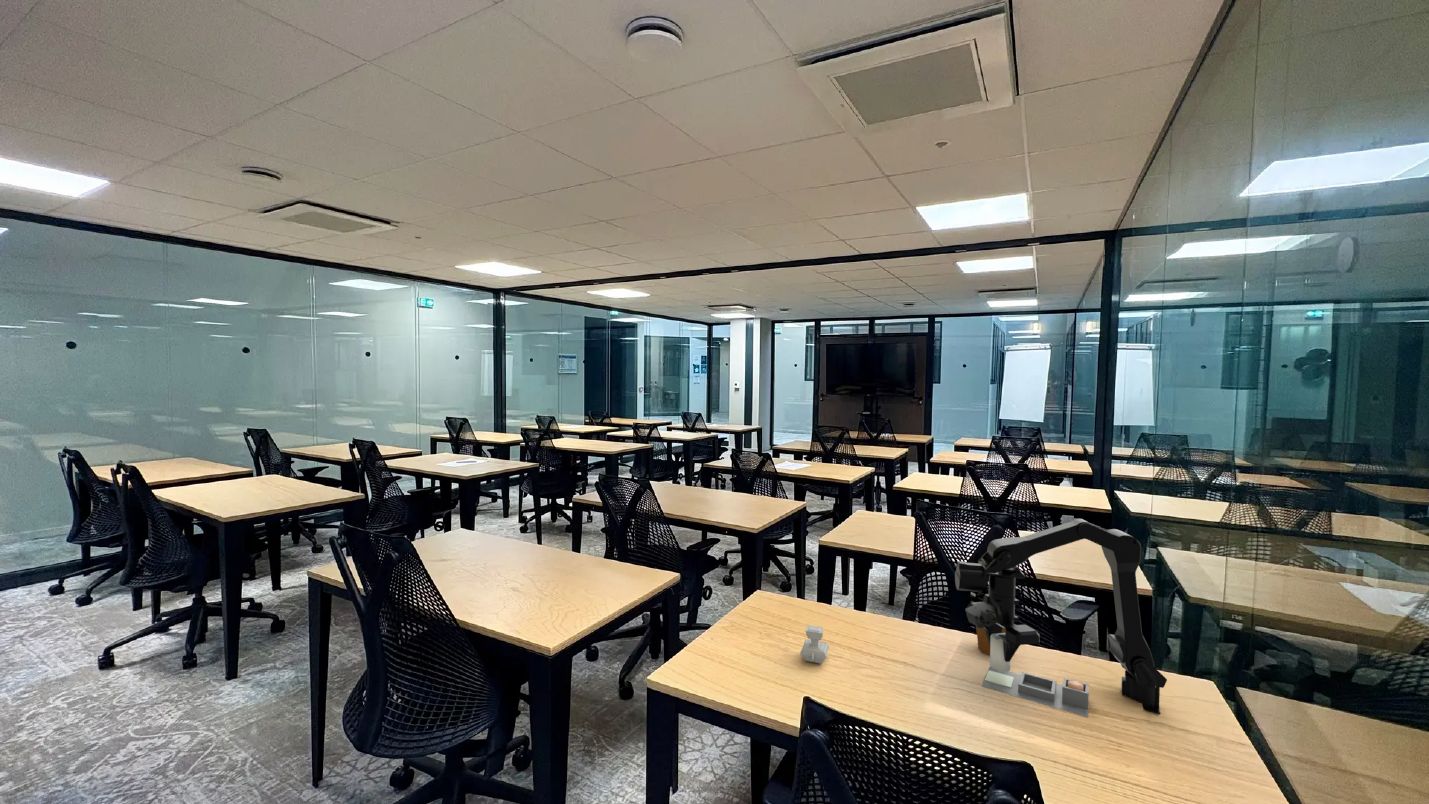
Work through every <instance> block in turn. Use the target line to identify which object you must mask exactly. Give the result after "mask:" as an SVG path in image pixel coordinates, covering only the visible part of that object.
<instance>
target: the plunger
mask: <svg viewBox="0 0 1429 804" xmlns="http://www.w3.org/2000/svg"><path fill="white" fill-rule="evenodd" d="M1076 681H1077V680H1074V681H1068V687H1069V688H1073V689H1077V690H1080V691H1083V690H1084V686H1083V684H1081V683H1082V682H1081V683H1079V682H1080V681H1078V682H1076Z"/></svg>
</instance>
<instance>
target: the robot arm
mask: <svg viewBox="0 0 1429 804" xmlns="http://www.w3.org/2000/svg"><path fill="white" fill-rule="evenodd" d="M1082 540H1087V541H1090V542H1092V543H1094V544H1096V545H1098V546H1101V550H1102V553H1103V555H1104V558H1105V559H1106V562H1107V563H1108V566H1109V569H1110V571H1111V573H1110V574H1111V580H1112V581H1111V582H1112V590H1113V592H1112V593H1113V598H1114V599H1113V600H1114V606H1115V607H1114V608H1115V609H1114V610H1115V617H1116V624H1117V625H1116V627H1117V628H1116V631H1115V632H1114V634H1111V633H1108V634H1107V636H1108V637H1107V638H1108V641H1109V648H1108V650H1109V651H1110V652H1111V654H1112V656H1114V658H1115V659H1116V660H1117V661H1118V662H1119V663H1120V665H1121V667H1122V668H1123V669H1124V676H1121V687H1120V688H1121V689H1120V690H1121V692H1120V693H1121V695H1122V696H1124V697H1126V698H1129V699H1131V700H1133V701H1135V702H1137V703H1140V704H1142V710H1143V711H1146V712H1150V713H1154V714H1158V715H1160V714H1161V708H1160V698H1161V697H1160V695H1161V691H1160V689H1162V688H1164V687H1165V686H1166V683H1167V681H1168V679H1167V678H1166V677H1165V676H1164V675H1163V674H1162V673H1161V672H1160V671H1159V670H1158V669H1157V668H1156V667H1155V661H1154V657H1153V654H1152V651H1151V648H1150V647H1149V645H1148V643H1147V641H1146V639H1145V636H1144V634H1143V631H1142V630H1143V629H1142V620H1141V619H1142V618H1141V611H1140V605H1139V602H1140V601H1139V594H1138V586H1137V585H1138V584H1137V576H1136V573H1137V570H1138V568H1139V565H1140V563H1141V559H1142V558H1141V557H1142V545H1141V542H1139V540H1138V539H1136V538H1135V537H1133V536H1132V535H1130V534H1128V533H1126V532H1124V531H1122V530H1121V529H1120V530H1119V529H1116V528H1112V529H1111V528H1110V529H1106V528H1104V527H1101V526H1100V525H1099V526H1098V525H1095V524H1094V523H1091V522H1088V521H1087V520H1084V519H1083V518H1074V519H1072V520H1071V521H1068V522H1065V523H1062V524H1060V525H1055V526H1052V527H1049V528H1046V529H1043V530H1041V531H1037V532H1034V533H1032V534H1029V535H1025V536H1017V537H1013V536H1011V537H1003V538H998V539H997V538H996V539H993V540H992V541H990V542H989V543H988V546H987V551H985V553H983V555H982V556H981V557H980V558H979V559H978V560H977V562H978V563H975V562H966V561H963V560H962V561H957V566H956V570H955V572H954V582H955V587H956V590H957V591H964V592H965V591H966V592H968V591H969V592H978V593H983V592H984V591H986V589H988V593H985V594H984V596H983V601H978V602H977V601H976V602H975V601H974V602H969V603H968V605H967V606H966V608H965V612H966V617H967V619H968V622H969V624H972V625H973V626H975V628H976V627H977V628H984V630H985V633H986V635H987V639H988V642H989V645H990V639H991V634H997V633H1001V632H1002V628H1005V629H1006V630H1005V634H999V637H1000V638H1001V639H1002V640H1003V647H1004V659H1005V661H1006V662H1009V661H1010V662H1011V660H1012V659H1013V657H1014V656H1015V654H1016V653H1017V651H1018V649H1019V648H1020V647H1021V646H1025V645H1035V644H1040V636H1041V635H1040V633H1039V632H1038V631H1037V630H1036V629H1034V628H1032V627H1030V626H1029V625H1027V624H1014V623H1017V622H1020V617H1019V616H1017V615H1015V613H1016V611H1015V610H1016V609H1015V608H1016V606H1017V605H1020V600H1019V599H1017V598H1016V579H1025V578H1026V575H1025V573H1023V572H1022V571H1021V570H1020V568H1019V567H1018V566H1019V565H1022V564H1023V563H1025V562H1026V561H1027V560H1028V559H1029V558H1031V557H1032V556H1034V555H1036V554H1037V555H1038V554H1041V553H1043V552H1046V551H1049V550H1053V549H1056V548H1059V547H1062V546H1066V545H1068V544H1073V543H1074V542H1079V541H1082Z"/></svg>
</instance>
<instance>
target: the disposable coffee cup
mask: <svg viewBox="0 0 1429 804" xmlns="http://www.w3.org/2000/svg"><path fill="white" fill-rule="evenodd" d="M975 629H976V630H975V631H976V638H977V646H978V650H979V651H980V653H981V652H982V653H983V654H985V655H989V656H990V645H989V642H988V639H987V635H986V633H985V630H984V628H977V627H976V626H975ZM1005 630H1006V629H1005V628H1002V632H1001V633H1005Z"/></svg>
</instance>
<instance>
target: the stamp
mask: <svg viewBox="0 0 1429 804" xmlns="http://www.w3.org/2000/svg"><path fill="white" fill-rule="evenodd" d="M805 635H806V638H807V639H805V640H804V643H803V645H802V648H801V650H800V655H801V657H802V659H803V660H804V661H805V662H811V663H817V664H820V665H821V664H823V662H824V661H825V660H826V659H827V655H828V651H829V648H830V646H829V643H828V642H826V641H825V642H824V641H821V640H822V638H823V637H824V627H823V626H817V625H811V624H810V625H809V624H807V625H806V628H805ZM823 639H824V638H823Z"/></svg>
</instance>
